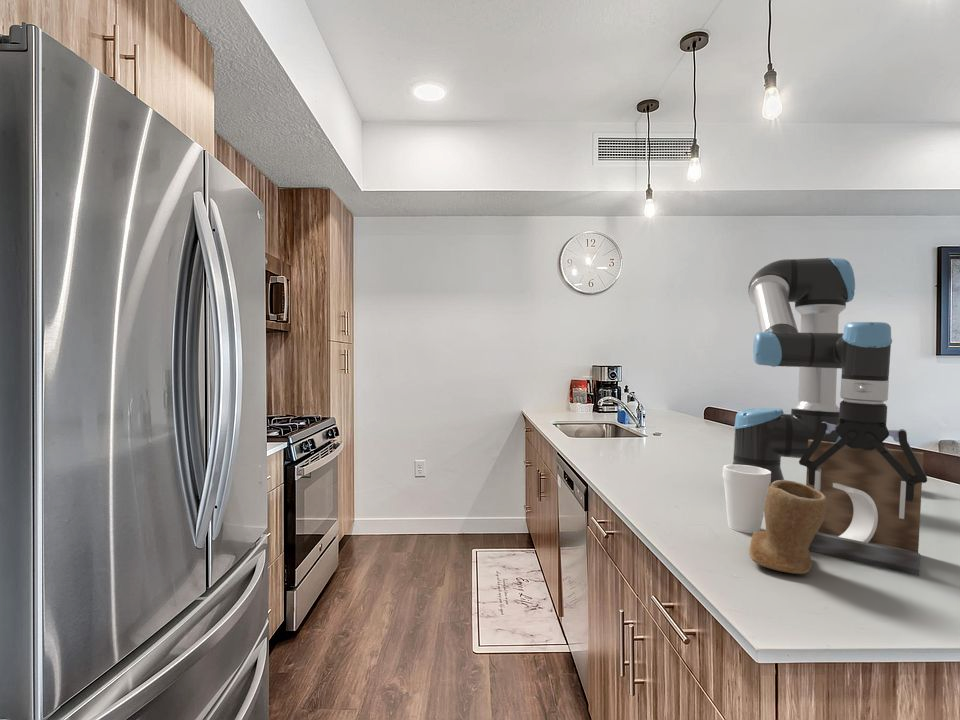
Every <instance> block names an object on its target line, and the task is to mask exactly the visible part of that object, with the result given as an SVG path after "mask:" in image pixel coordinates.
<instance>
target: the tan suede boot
mask: <svg viewBox="0 0 960 720" xmlns="http://www.w3.org/2000/svg"><path fill="white" fill-rule="evenodd" d="M827 504H828V502H827V498H826V496H825V495H824V494H823V493H821V492H820V491H818V490H816V489H813V488H812V487H810V486H807V485H806V484H804V483H802V482H801V483H800V482H798V481H793V480H787V479H784V480H777V481H774V482H773V483H771V485H770V486H769V488H768V491H767V495H766V501H765V507H764V514H763V516H764V520H765V521H764V522H765V530H760V531H758V532H755V533H752V535H751V539H750V545H749V548H748V549H749V551H748V552H749V557H750V559H751V561H753V562H754V563H755V564H757V565H759V566H760V567H764V568H767V569H771V570H774V571H777V572H782V573H787V574H797V575H805V574H807V573H809V572H810V569H811V568H812V557H811V554H810V551H809V550H808V549H809V546H810V544H811V542H812V540H813V538H814V536H815V534H816V533H817V531H818V529H819V528H820V526H821V524H822V523H823V521H824V519H825V515H826V509H827Z"/></svg>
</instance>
